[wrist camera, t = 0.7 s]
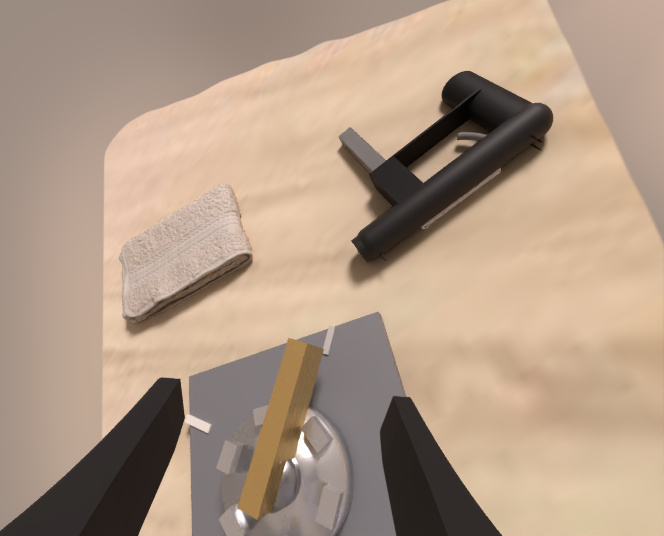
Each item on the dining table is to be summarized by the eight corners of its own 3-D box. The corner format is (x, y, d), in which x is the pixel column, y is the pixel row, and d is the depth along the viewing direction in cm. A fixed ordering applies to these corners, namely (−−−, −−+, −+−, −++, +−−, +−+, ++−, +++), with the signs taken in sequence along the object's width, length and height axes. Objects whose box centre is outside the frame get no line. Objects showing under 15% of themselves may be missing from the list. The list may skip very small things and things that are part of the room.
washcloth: (132, 255, 45) (111, 246, 42) (237, 187, 42) (221, 172, 39) (138, 332, 39) (113, 327, 37) (260, 260, 36) (243, 248, 34)
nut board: (477, 628, 19) (477, 641, 18) (199, 652, 24) (187, 662, 23) (380, 312, 28) (376, 309, 27) (192, 376, 33) (183, 375, 32)
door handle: (293, 165, 36) (368, 265, 27) (443, 44, 34) (577, 110, 25) (307, 183, 39) (379, 280, 30) (446, 73, 37) (568, 141, 28)
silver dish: (332, 585, 22) (298, 631, 17) (221, 516, 26) (170, 539, 22) (381, 365, 25) (362, 357, 21) (276, 337, 30) (243, 326, 26)
